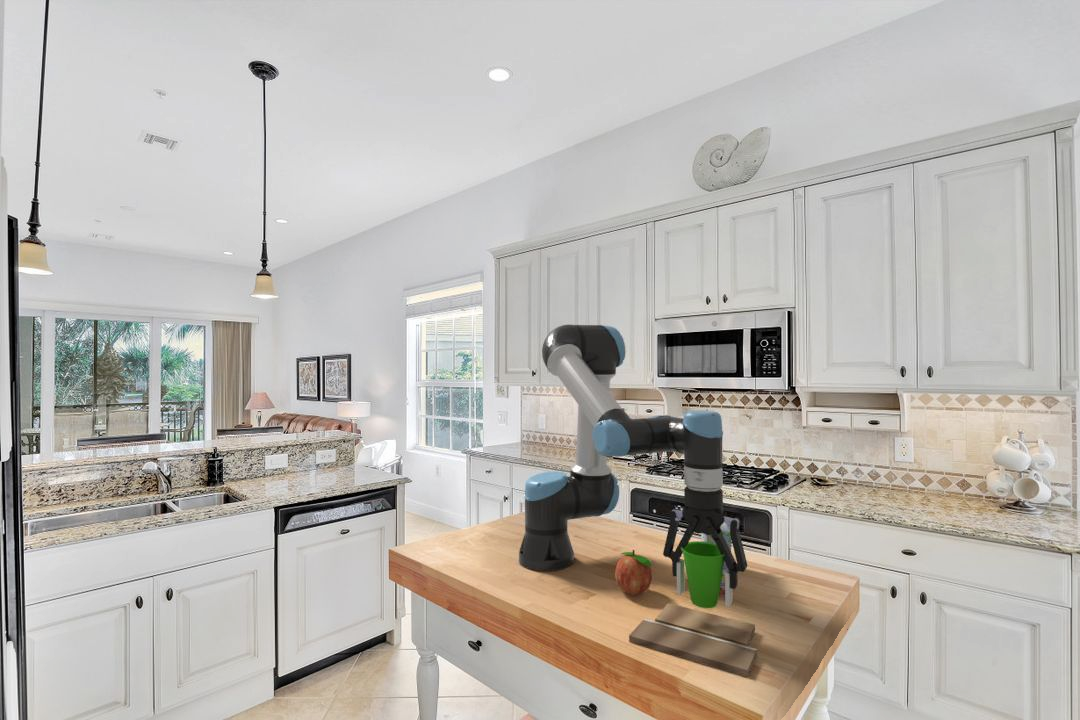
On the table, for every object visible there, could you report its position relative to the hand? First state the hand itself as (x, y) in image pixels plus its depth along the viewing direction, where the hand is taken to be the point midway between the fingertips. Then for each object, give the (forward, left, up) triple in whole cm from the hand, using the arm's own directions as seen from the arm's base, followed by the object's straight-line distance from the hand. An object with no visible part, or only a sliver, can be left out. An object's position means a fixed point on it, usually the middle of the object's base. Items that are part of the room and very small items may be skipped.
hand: (704, 597), depth 109 cm
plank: (0, 0, -6) cm, 6 cm away
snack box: (-5, +28, -7) cm, 29 cm away
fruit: (-19, +9, -7) cm, 22 cm away
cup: (0, 0, -1) cm, 1 cm away
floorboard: (0, -9, -6) cm, 11 cm away
